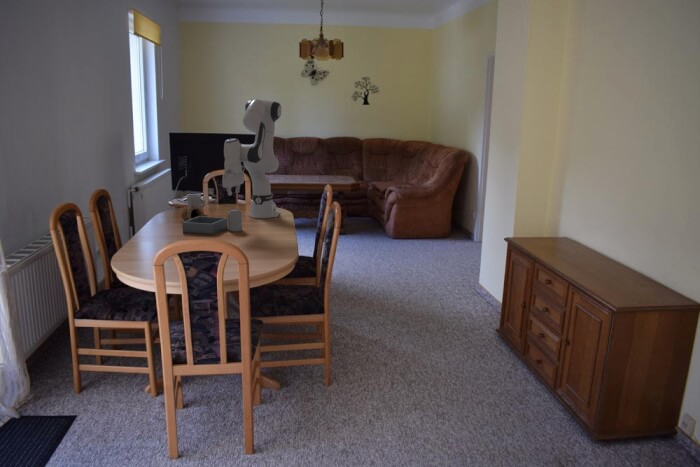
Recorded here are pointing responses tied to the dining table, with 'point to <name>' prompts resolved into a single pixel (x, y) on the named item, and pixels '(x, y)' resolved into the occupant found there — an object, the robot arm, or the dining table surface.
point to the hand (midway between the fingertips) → (233, 194)
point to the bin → (205, 225)
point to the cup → (195, 200)
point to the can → (234, 220)
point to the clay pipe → (191, 213)
